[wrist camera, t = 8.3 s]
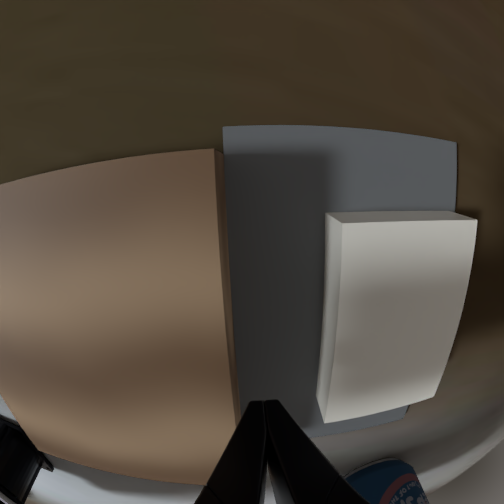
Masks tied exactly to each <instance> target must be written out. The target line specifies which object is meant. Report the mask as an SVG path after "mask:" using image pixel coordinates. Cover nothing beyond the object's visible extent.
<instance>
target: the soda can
mask: <svg viewBox="0 0 504 504" xmlns="http://www.w3.org/2000/svg"><path fill="white" fill-rule="evenodd" d="M344 479H345V480H346V481H347V482H348V483H349V484H350V485H351V486H352V487H353V488H354V489H355V490H356V491H357V492H358V493H359V494H360V495H361V496H362V497H363V498H365V499H366V500H367V501H368V502H369V503H371V504H429V502H428V500H427V497H426V495H425V493H424V491H423V488H422V486H421V484H420V482H419V480H418V477H417V475H416V473H415V471H414V469H413V467H412V466H411V465H409V464H407V463H405V462H403V461H401V460H399V459H396V458H387V459H381V460H378V461H374V462H371V463H369V464H366V465H364V466H362V467H360V468H358V469H356V470H354V471H352V472H351V473H349V474H348V475H346V476H345V477H344Z"/></svg>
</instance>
